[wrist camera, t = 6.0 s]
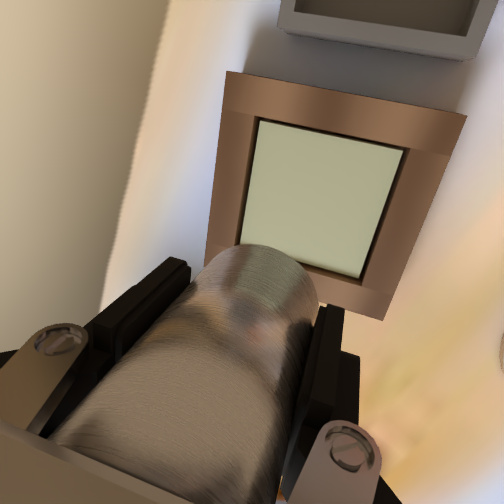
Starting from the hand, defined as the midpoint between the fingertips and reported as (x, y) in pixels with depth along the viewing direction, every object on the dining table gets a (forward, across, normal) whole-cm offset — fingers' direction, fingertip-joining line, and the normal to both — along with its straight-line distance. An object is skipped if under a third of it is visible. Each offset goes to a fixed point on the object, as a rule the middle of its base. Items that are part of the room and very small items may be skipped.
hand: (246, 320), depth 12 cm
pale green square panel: (+15, 0, 0) cm, 15 cm away
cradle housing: (+17, 0, 0) cm, 17 cm away
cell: (+1, 0, 0) cm, 1 cm away
